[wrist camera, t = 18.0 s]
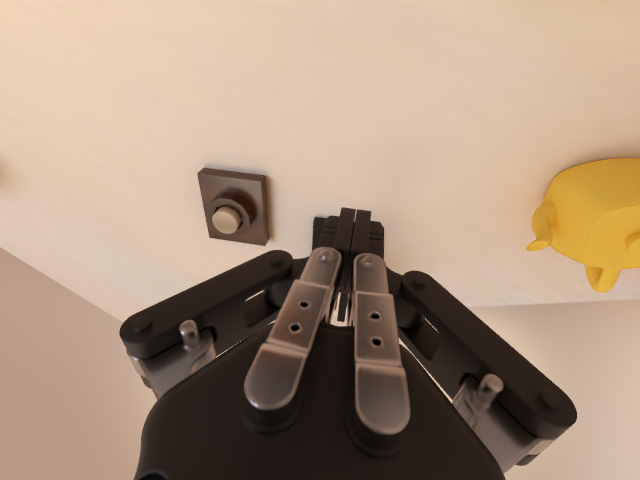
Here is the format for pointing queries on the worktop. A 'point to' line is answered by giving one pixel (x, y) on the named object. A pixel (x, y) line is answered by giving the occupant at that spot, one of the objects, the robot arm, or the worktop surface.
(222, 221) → the button
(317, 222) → the bracket
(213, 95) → the worktop surface
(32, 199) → the worktop surface
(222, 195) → the button block
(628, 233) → the teapot
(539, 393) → the robot arm
